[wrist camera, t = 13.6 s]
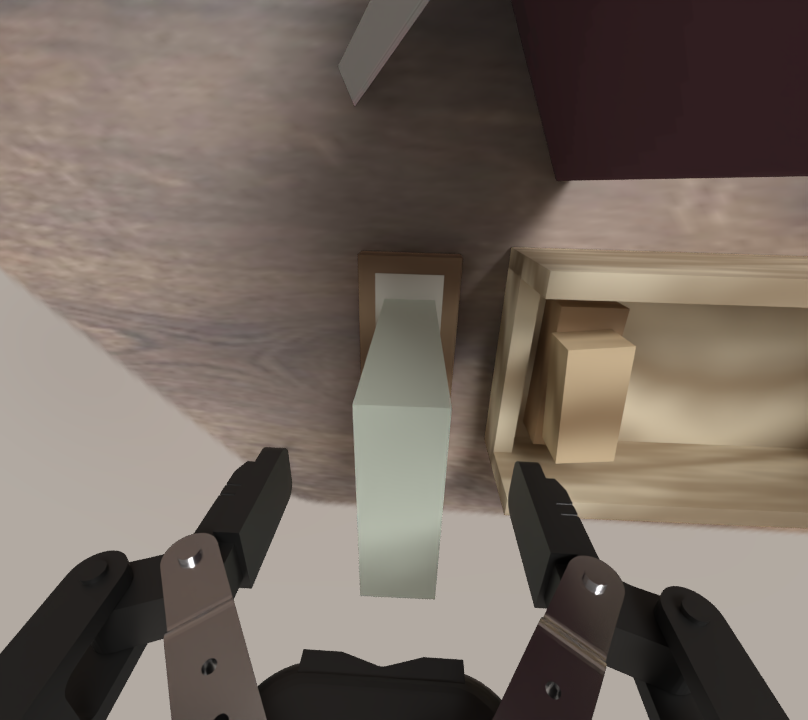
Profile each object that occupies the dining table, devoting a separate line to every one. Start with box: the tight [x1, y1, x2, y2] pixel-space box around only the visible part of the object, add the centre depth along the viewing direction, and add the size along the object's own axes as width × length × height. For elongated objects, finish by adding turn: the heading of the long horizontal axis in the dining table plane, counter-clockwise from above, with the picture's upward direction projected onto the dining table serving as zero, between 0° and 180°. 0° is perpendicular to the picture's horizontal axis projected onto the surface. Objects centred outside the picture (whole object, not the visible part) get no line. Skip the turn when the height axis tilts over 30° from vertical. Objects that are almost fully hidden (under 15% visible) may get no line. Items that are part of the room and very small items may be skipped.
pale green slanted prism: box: [352, 299, 452, 599], centre depth 19 cm, size 9×3×12 cm, turn 179°
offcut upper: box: [542, 329, 636, 464], centre depth 21 cm, size 7×3×2 cm, turn 5°
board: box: [358, 251, 463, 398], centre depth 24 cm, size 12×6×2 cm, turn 179°
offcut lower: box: [523, 299, 630, 444], centre depth 23 cm, size 9×4×2 cm, turn 179°
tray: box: [484, 247, 808, 529], centre depth 22 cm, size 14×24×7 cm, turn 89°
